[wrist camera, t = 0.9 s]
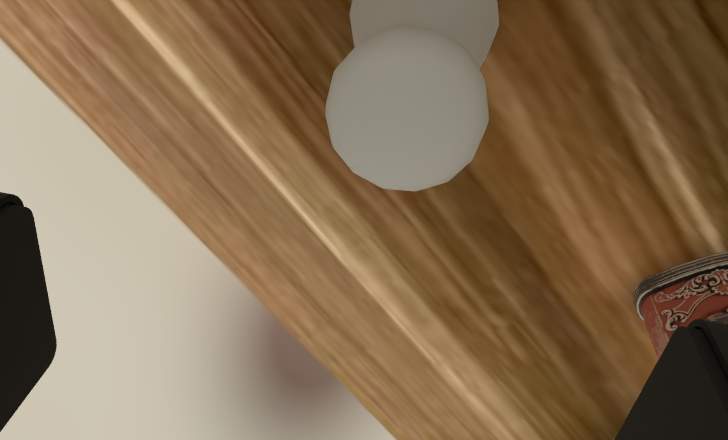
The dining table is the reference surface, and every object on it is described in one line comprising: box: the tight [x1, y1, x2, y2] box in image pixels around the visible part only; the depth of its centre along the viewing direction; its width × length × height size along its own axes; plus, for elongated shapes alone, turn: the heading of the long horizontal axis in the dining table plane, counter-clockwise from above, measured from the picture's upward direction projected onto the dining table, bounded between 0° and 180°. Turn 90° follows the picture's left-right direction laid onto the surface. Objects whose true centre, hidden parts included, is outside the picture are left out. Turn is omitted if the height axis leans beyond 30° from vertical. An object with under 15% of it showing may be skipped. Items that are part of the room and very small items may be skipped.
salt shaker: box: [326, 0, 499, 191], centre depth 21 cm, size 6×6×13 cm
